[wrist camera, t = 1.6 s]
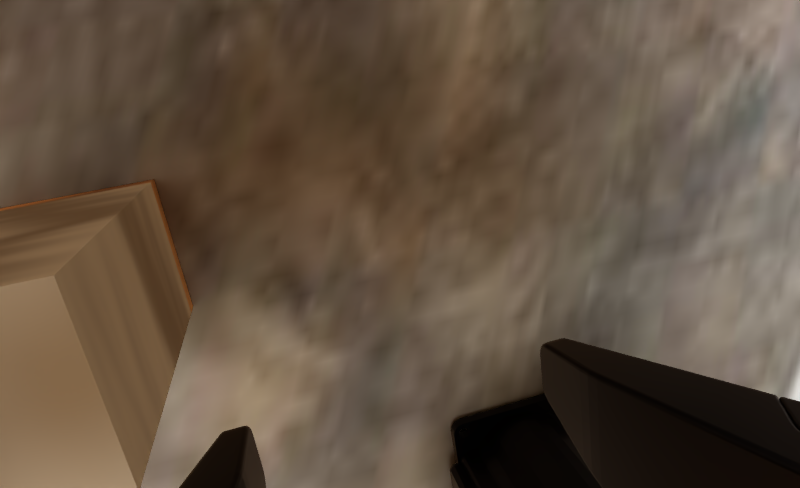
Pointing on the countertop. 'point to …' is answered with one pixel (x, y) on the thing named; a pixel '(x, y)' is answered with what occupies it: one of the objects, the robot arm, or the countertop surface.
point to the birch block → (86, 336)
